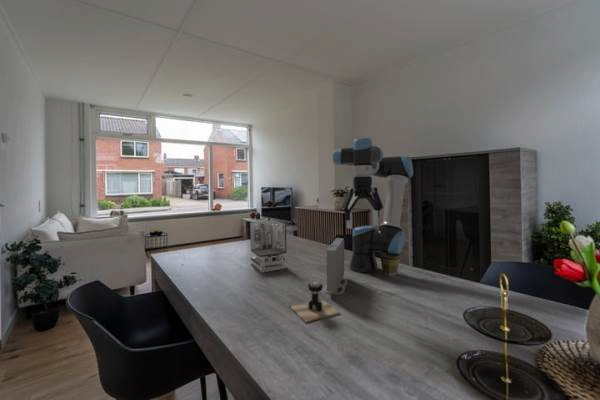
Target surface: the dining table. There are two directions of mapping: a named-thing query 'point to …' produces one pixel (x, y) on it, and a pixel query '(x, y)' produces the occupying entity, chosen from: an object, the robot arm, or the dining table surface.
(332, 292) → the network device
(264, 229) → the analytical balance
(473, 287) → the dining table surface
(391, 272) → the ceramic cup
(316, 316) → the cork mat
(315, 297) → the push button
